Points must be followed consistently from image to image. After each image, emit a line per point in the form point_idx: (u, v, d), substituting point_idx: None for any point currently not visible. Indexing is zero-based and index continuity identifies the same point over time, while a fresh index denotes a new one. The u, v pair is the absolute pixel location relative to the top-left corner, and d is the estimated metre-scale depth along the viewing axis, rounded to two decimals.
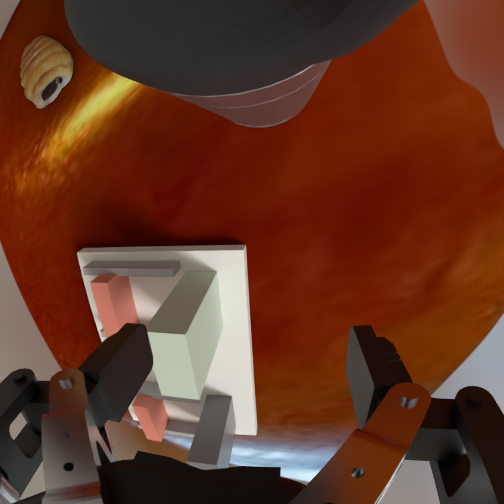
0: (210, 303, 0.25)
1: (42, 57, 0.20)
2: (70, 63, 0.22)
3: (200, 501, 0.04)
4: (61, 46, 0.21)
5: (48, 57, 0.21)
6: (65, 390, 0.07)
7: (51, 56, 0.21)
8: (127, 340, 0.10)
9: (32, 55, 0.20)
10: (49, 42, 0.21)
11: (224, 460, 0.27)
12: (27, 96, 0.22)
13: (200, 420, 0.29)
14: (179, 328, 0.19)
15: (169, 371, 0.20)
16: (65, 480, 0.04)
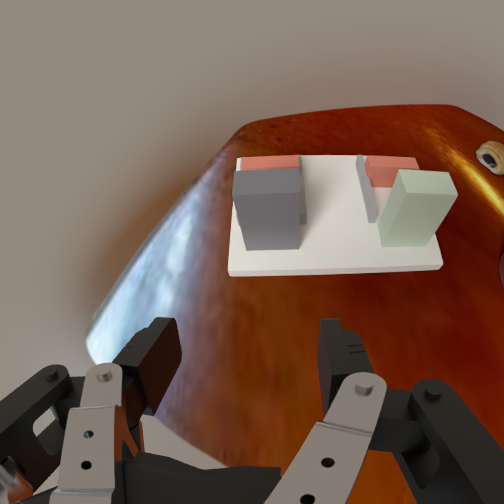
0: (426, 231, 0.30)
1: None
2: (501, 173, 0.38)
3: (200, 501, 0.04)
4: None
5: None
6: (104, 384, 0.07)
7: None
8: (160, 334, 0.10)
9: None
10: None
11: (267, 210, 0.29)
12: (484, 144, 0.40)
13: None
14: None
15: (426, 179, 0.26)
16: (80, 479, 0.04)
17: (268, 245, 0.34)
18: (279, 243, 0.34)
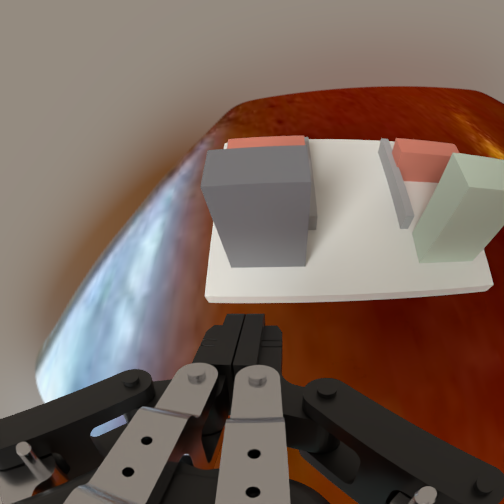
0: (478, 241, 0.20)
1: None
2: None
3: (200, 501, 0.04)
4: None
5: None
6: (203, 387, 0.07)
7: None
8: (240, 330, 0.11)
9: None
10: None
11: (257, 211, 0.18)
12: None
13: None
14: None
15: (489, 169, 0.15)
16: (114, 483, 0.04)
17: (262, 261, 0.24)
18: (278, 258, 0.23)
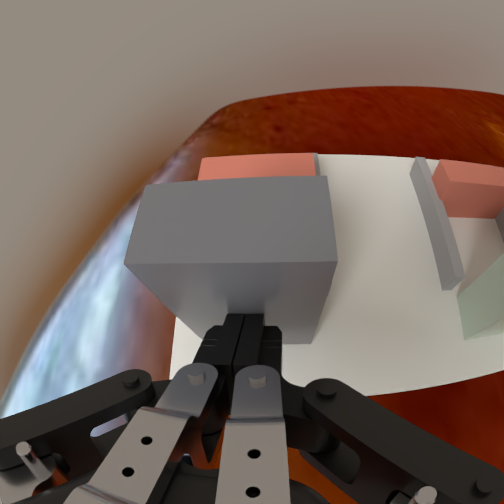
0: None
1: None
2: None
3: (200, 501, 0.04)
4: None
5: None
6: (203, 387, 0.07)
7: None
8: (239, 330, 0.11)
9: None
10: None
11: (234, 297, 0.10)
12: None
13: None
14: None
15: None
16: (114, 483, 0.04)
17: None
18: None
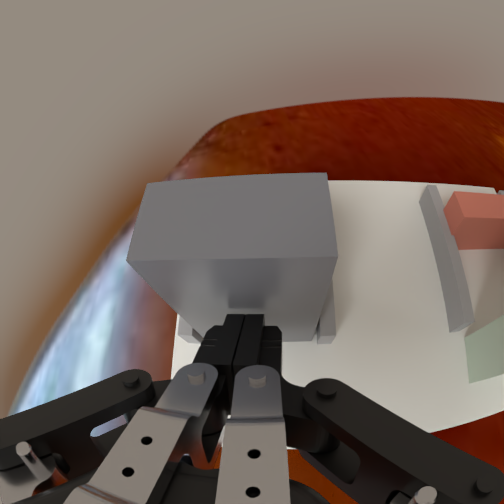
0: None
1: None
2: None
3: (200, 501, 0.04)
4: None
5: None
6: (203, 387, 0.07)
7: None
8: (240, 330, 0.11)
9: None
10: None
11: (236, 293, 0.10)
12: None
13: None
14: None
15: None
16: (114, 483, 0.04)
17: None
18: None
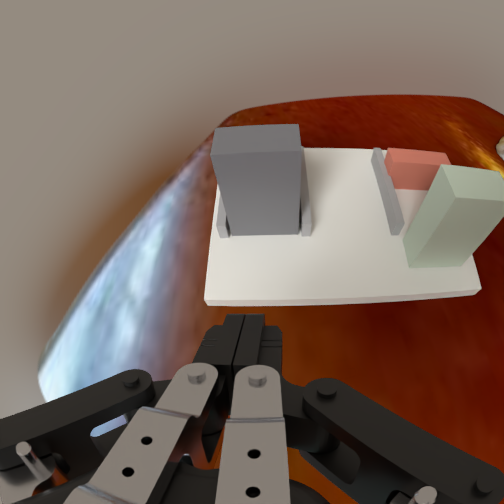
0: (466, 247, 0.21)
1: None
2: None
3: (200, 501, 0.04)
4: None
5: None
6: (203, 387, 0.07)
7: None
8: (240, 330, 0.11)
9: None
10: None
11: (257, 178, 0.21)
12: None
13: None
14: None
15: (476, 180, 0.17)
16: (114, 483, 0.04)
17: (260, 228, 0.27)
18: (273, 226, 0.27)
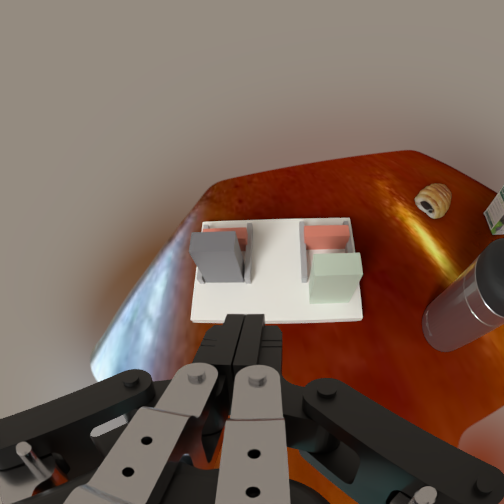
0: (343, 294, 0.41)
1: (443, 199, 0.50)
2: (439, 217, 0.50)
3: (200, 501, 0.04)
4: (447, 209, 0.51)
5: (443, 203, 0.50)
6: (203, 387, 0.07)
7: (444, 205, 0.50)
8: (239, 330, 0.11)
9: (443, 192, 0.50)
10: (449, 201, 0.51)
11: (214, 260, 0.42)
12: (422, 191, 0.52)
13: (241, 253, 0.46)
14: None
15: (335, 262, 0.37)
16: (115, 483, 0.04)
17: (221, 279, 0.47)
18: (228, 278, 0.47)
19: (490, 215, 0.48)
